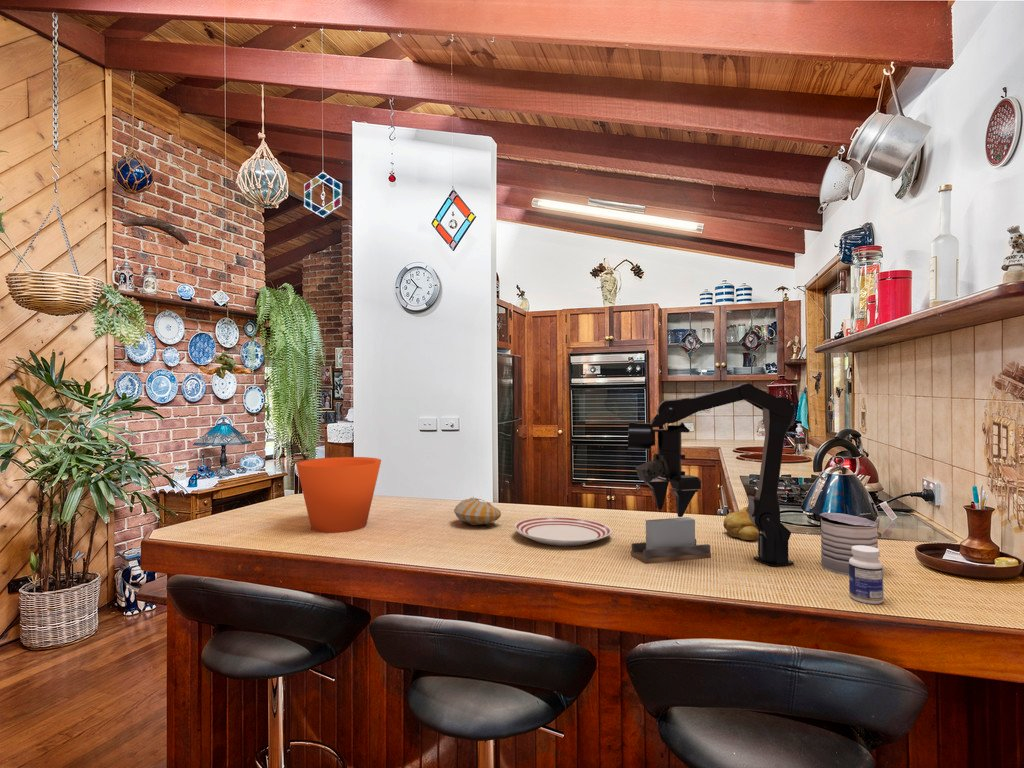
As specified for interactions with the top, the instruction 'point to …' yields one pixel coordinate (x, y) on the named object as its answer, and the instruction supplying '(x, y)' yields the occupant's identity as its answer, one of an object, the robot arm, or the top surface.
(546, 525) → the dinner plate
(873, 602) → the pill bottle
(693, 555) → the bottom track
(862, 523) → the can
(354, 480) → the flowerpot
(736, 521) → the tan lumpy piece
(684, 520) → the door panel
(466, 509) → the striped ribbed shell
